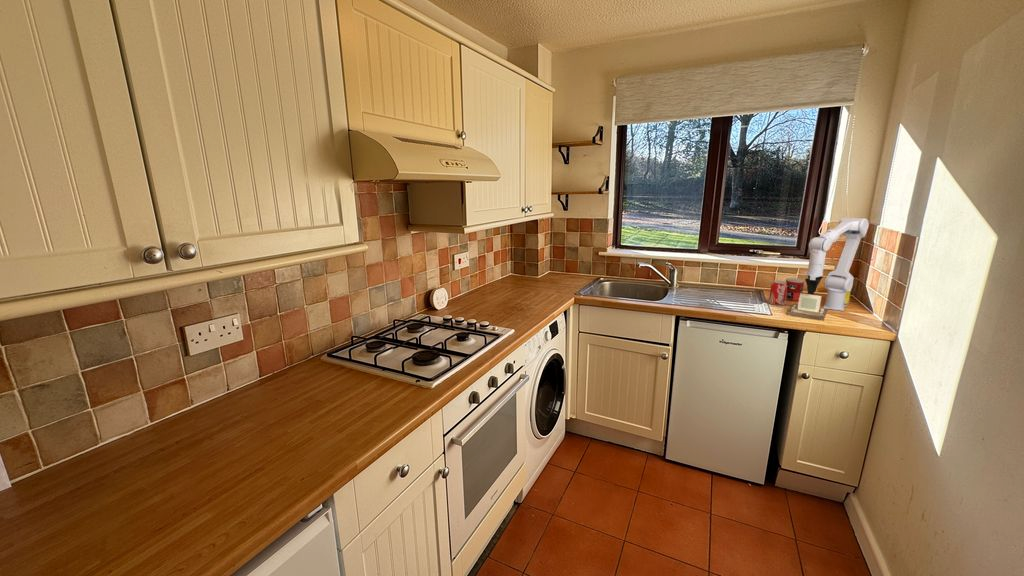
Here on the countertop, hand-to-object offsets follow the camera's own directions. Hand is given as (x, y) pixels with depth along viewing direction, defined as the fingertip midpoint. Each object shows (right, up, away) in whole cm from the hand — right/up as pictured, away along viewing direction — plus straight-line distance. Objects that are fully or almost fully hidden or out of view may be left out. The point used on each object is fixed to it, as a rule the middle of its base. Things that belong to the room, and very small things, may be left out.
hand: (811, 292), depth 193 cm
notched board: (+1, -10, +4) cm, 11 cm away
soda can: (-5, -7, +18) cm, 20 cm away
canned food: (+8, -4, +26) cm, 28 cm away
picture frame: (0, -9, +2) cm, 9 cm away
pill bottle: (+27, -6, +17) cm, 32 cm away
